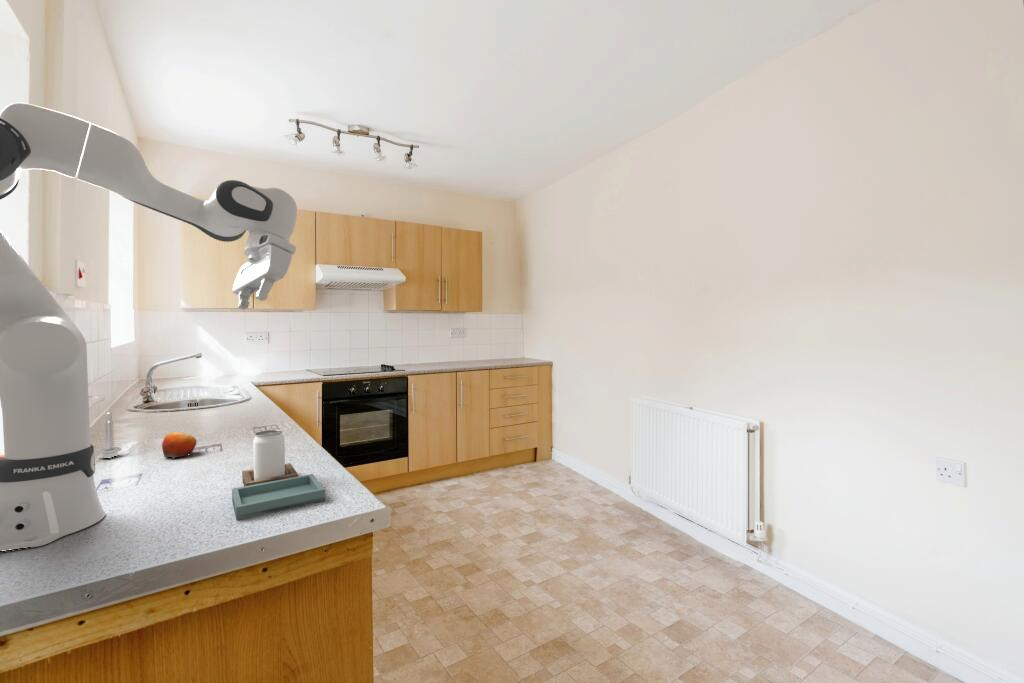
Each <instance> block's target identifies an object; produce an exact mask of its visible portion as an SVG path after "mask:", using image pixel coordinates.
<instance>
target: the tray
mask: <svg viewBox="0 0 1024 683" xmlns="http://www.w3.org/2000/svg"><path fill="white" fill-rule="evenodd" d="M325 490H326V489H325V488H324V486H323V485H322V483H320V481H319V480H318V479H317V478H316V476H315V475H314V474H313V473H311V474H306V475H305V474H303V475H298V477H293V478H288V479H282V480H277V481H272V482H266V483H261V484H255V485H250V486H245V487H244V486H240V487H234V488H231V499H232V500H231V502H232V505H233V506H232V507H233V509H234V515H235V519H236V521H241V520H244V519H249V518H254V517H258V516H259V517H260V516H263V515H269V514H271V513H277V512H281V511H286V510H290V509H291V510H292V509H295V508H300V507H303V506H308V505H313V504H317V503H322V502H325V501H326V492H325Z"/></svg>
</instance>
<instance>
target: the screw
mask: <svg viewBox="0 0 1024 683" xmlns="http://www.w3.org/2000/svg"><path fill="white" fill-rule="evenodd" d="M112 414H113V413H112V412H110V411H108V412H106V413H105V415H104V416H105V422H104V425H105V426H104V430H105V446H106V447H105V448H103V449H100V450H99V451H98V454H101V455H103V458H104V457H106V458H108V457H114V456H116V455H117V456H118V452H121V451H122V448H121V447H119V446H115V441H114V440H115V437H114V421H113V416H112Z"/></svg>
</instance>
